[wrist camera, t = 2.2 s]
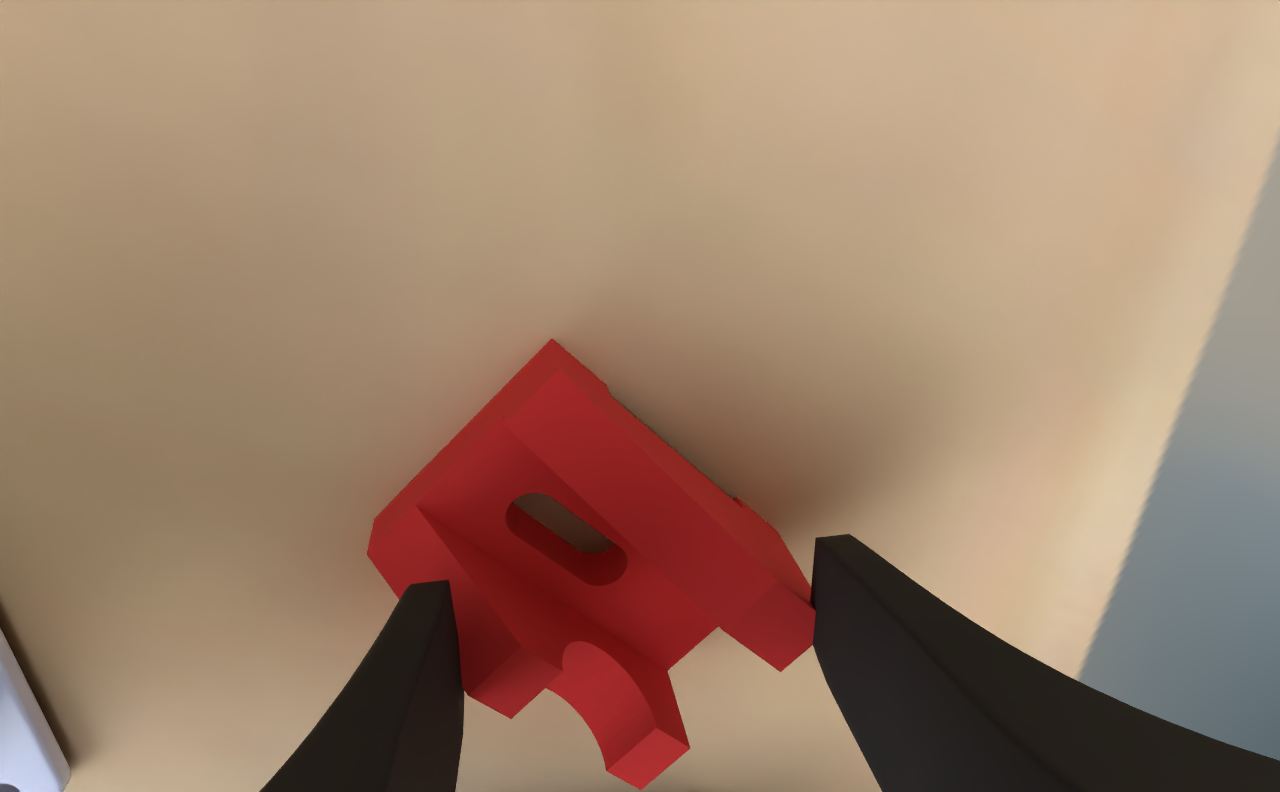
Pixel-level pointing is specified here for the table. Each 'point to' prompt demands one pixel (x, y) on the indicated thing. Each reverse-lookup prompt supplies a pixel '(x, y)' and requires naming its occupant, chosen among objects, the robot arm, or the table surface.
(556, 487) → the bracket
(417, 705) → the robot arm
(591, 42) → the table surface
